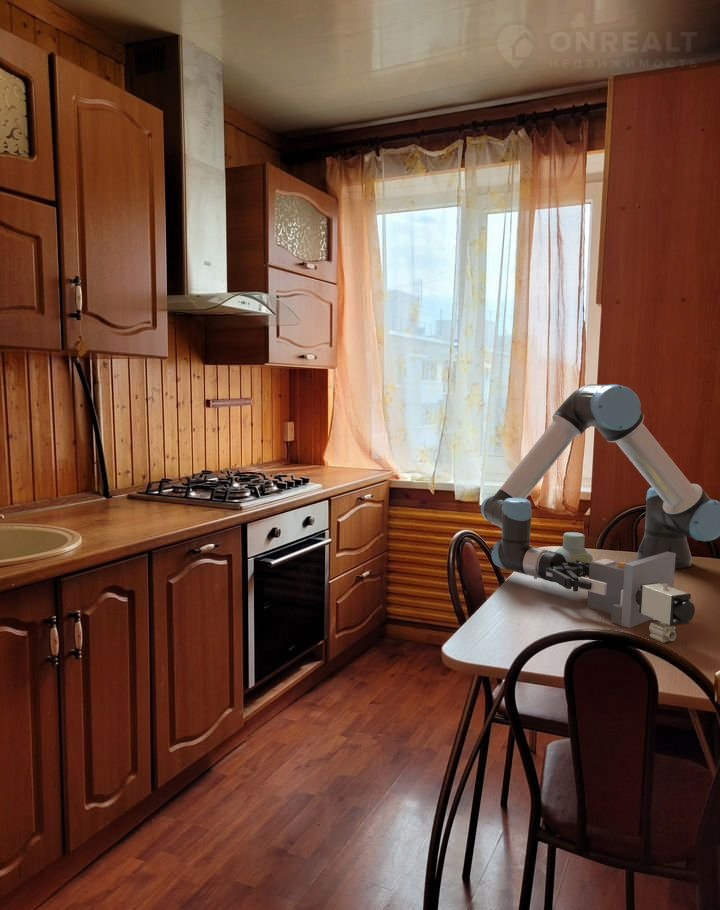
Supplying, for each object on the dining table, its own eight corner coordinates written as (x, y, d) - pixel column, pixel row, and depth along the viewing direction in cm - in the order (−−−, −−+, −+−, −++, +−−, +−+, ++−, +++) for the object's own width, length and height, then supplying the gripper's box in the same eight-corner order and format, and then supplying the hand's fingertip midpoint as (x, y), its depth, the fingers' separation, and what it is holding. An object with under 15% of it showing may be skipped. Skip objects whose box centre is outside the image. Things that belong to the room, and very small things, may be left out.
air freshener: (562, 572, 198) (564, 538, 197) (548, 565, 206) (550, 531, 205) (597, 570, 201) (599, 536, 200) (582, 563, 209) (583, 530, 208)
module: (599, 603, 171) (601, 555, 170) (641, 615, 163) (644, 564, 162) (587, 607, 168) (589, 558, 167) (629, 619, 160) (632, 568, 158)
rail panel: (653, 606, 169) (657, 549, 168) (672, 610, 166) (675, 553, 164) (611, 622, 157) (614, 561, 156) (629, 628, 154) (633, 565, 152)
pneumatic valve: (676, 651, 141) (680, 593, 140) (632, 631, 152) (635, 577, 150) (696, 647, 143) (700, 590, 142) (651, 628, 154) (654, 575, 153)
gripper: (572, 571, 188) (647, 590, 172) (514, 587, 172) (590, 610, 156) (574, 543, 187) (649, 560, 171) (515, 557, 172) (592, 577, 155)
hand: (621, 584), depth 164 cm, fingers open, 13 cm apart
